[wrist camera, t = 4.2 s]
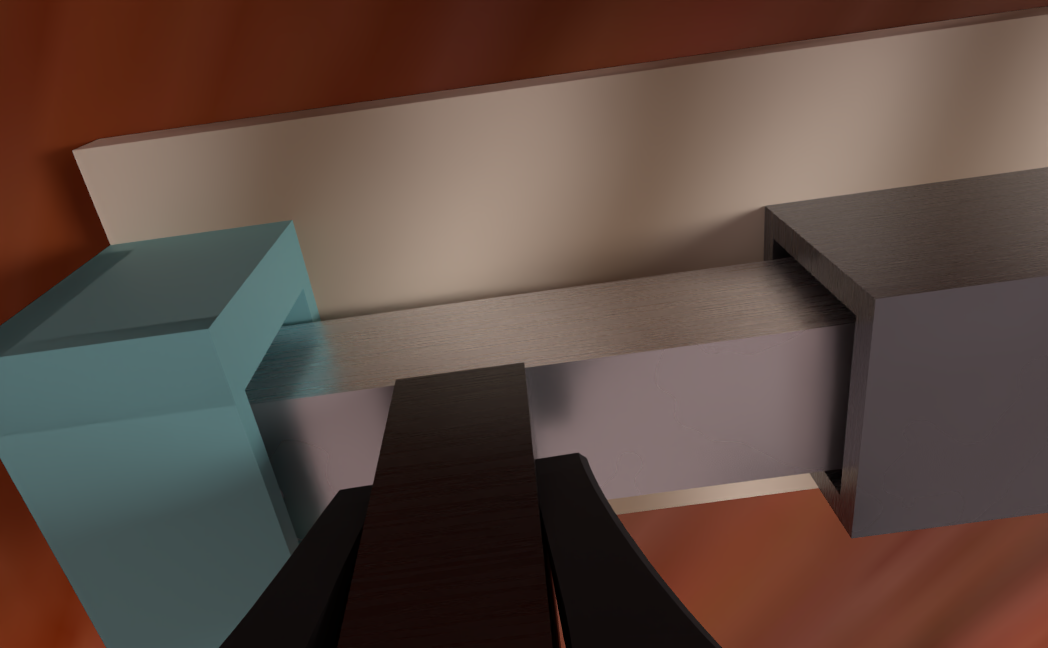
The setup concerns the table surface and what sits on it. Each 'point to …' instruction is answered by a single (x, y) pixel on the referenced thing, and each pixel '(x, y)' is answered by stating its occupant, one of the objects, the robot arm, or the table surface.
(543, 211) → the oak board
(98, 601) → the bracket socket
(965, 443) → the outer sleeve
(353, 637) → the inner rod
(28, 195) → the table surface
